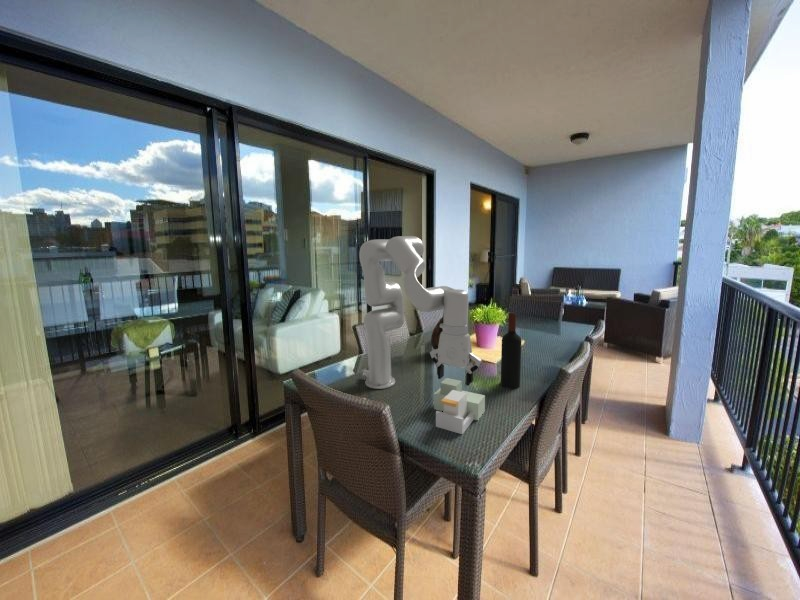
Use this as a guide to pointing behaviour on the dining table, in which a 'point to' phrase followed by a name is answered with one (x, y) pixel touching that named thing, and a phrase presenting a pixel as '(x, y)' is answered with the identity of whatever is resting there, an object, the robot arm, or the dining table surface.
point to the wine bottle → (511, 356)
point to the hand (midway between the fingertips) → (454, 380)
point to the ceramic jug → (437, 334)
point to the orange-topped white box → (455, 403)
